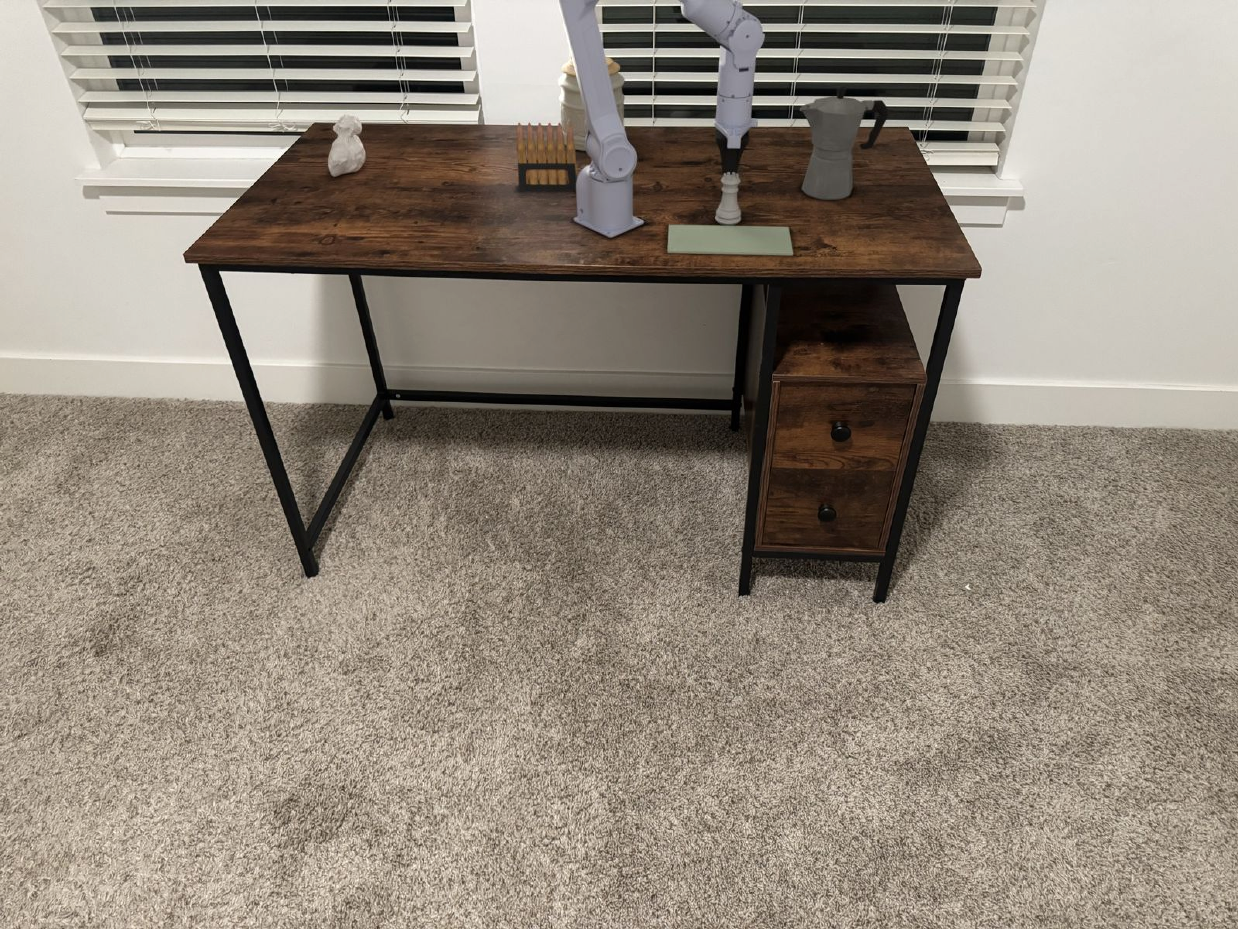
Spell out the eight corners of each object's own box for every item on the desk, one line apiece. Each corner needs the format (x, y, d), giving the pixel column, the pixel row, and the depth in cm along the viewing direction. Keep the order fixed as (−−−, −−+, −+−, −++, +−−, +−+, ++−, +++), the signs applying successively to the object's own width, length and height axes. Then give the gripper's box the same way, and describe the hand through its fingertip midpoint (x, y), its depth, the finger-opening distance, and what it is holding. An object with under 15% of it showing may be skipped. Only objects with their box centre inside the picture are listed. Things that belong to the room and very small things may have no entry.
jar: (624, 152, 176) (624, 57, 164) (559, 152, 176) (554, 58, 164) (625, 129, 185) (624, 38, 174) (563, 129, 186) (558, 38, 174)
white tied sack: (344, 193, 167) (370, 146, 161) (307, 168, 165) (333, 120, 159) (362, 168, 176) (388, 123, 170) (327, 145, 174) (352, 98, 168)
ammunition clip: (578, 186, 163) (575, 120, 155) (577, 190, 162) (574, 124, 154) (520, 186, 163) (514, 120, 156) (518, 190, 162) (513, 124, 154)
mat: (667, 252, 142) (667, 250, 142) (668, 226, 150) (668, 224, 150) (793, 255, 141) (793, 253, 141) (788, 228, 149) (788, 226, 148)
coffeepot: (795, 201, 157) (808, 96, 145) (785, 180, 164) (797, 78, 152) (881, 199, 157) (901, 94, 145) (868, 178, 164) (886, 76, 153)
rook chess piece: (724, 212, 154) (727, 167, 149) (746, 219, 152) (750, 173, 146) (709, 221, 151) (712, 175, 146) (731, 228, 149) (734, 182, 144)
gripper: (762, 107, 137) (755, 192, 146) (757, 78, 148) (750, 158, 157) (716, 107, 137) (711, 191, 146) (715, 78, 148) (710, 158, 157)
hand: (729, 174), depth 151 cm, fingers closed
